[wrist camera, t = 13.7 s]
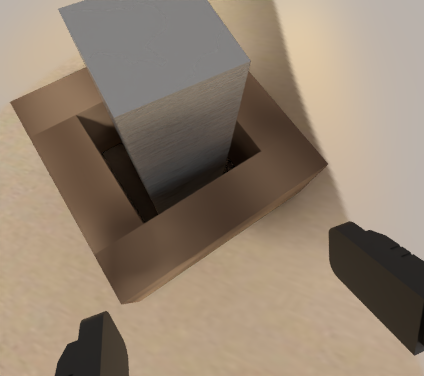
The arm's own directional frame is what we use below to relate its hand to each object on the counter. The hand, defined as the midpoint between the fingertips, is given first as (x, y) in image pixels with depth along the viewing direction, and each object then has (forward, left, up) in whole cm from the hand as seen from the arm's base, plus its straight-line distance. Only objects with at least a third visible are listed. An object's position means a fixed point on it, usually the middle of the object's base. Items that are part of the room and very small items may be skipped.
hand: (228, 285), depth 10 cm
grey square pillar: (+2, +8, -8) cm, 11 cm away
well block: (+2, +8, -8) cm, 11 cm away
